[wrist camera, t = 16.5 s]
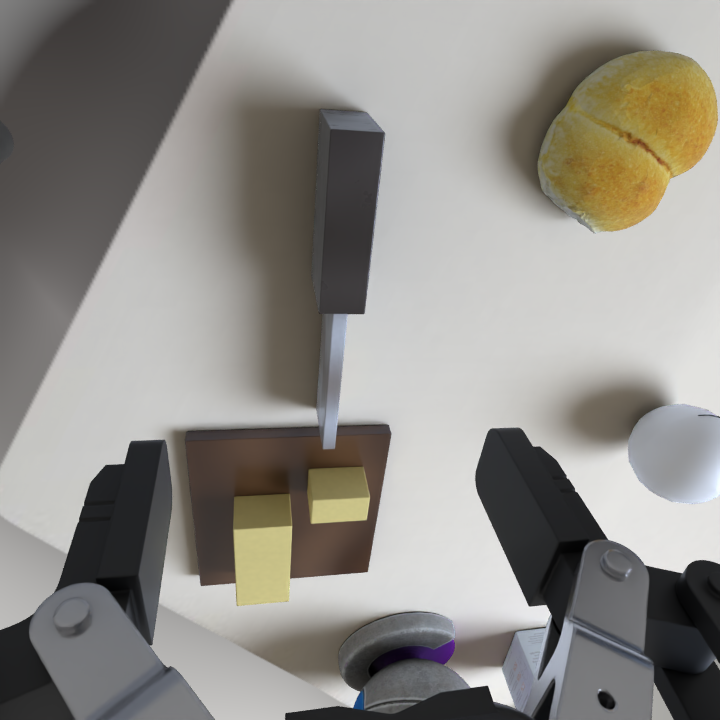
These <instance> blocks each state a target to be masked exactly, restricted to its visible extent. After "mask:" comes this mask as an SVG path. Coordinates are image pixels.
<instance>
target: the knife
mask: <svg viewBox="0 0 720 720" xmlns="http://www.w3.org/2000/svg"><path fill="white" fill-rule="evenodd" d="M384 140H385V132H384V131H383V130H382V129H381V128H380V127H379V125H378V124H377V123H376V122H375V121H374V120H373V119H372V117H371V116H370V115H369V114H368V113H367V112H354V111H341V110H327V109H320V117H319V136H318V156H317V176H316V196H315V216H314V235H313V255H312V275H311V276H312V281H313V286H314V291H315V296H316V301H317V306H318V310H319V314H323V317H322V332H321V347H320V362H319V378H318V393H317V408H316V410H317V416H318V423H319V430H320V436H321V443H322V449H335V442H336V431H337V421H338V410H339V400H340V389H341V379H342V368H343V358H344V347H345V336H346V326H347V315H348V314H364V313H365V306H366V297H367V288H368V279H369V271H370V262H371V253H372V245H373V236H374V227H375V218H376V210H377V201H378V192H379V183H380V175H381V166H382V157H383V148H384Z"/></svg>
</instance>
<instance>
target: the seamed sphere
mask: <svg viewBox="0 0 720 720" xmlns="http://www.w3.org/2000/svg"><path fill="white" fill-rule="evenodd" d="M628 456H629V462H630V464H631V466H632V468H633V470H634V472H635V474H636V476H637V478H638V480H639V481H640V482H641V483H642V484H643V485H644V486H645V487H646V488H648V489H649V490H650V491H651V492H653V493H655V494H656V495H658V496H660V497H662V498H665V499H667V500H669V501H672V502H678V503H689V504H696V503H703V502H706V501H709V500H712V499H714V498H716V497H718V496H720V417H719V416H716V415H715V414H713V413H712V412H710V411H709V410H707V409H703V408H699V407H695V406H691V405H687V404H676V405H668V406H663V407H659V408H656V409H654V410H652V411H650V412H649V413H647V414H646V415H645V416H643V417H642V418H641V419H640V420H639V421H638V422H637V424H636V425H635V427H634V429H633V431H632V433H631V436H630V438H629V440H628Z"/></svg>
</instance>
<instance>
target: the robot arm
mask: <svg viewBox="0 0 720 720" xmlns="http://www.w3.org/2000/svg"><path fill="white" fill-rule="evenodd" d="M475 481H476V488H477V492H478V495H479V497H480V499H481V502H482V504H483V506H484V508H485V510H486V513H487V515H488V517H489V519H490V521H491V524H492V526H493V528H494V530H495V532H496V535H497V537H498V539H499V541H500V543H501V546H502V548H503V550H504V552H505V554H506V557H507V559H508V561H509V563H510V565H511V568H512V570H513V572H514V574H515V577H516V579H517V581H518V583H519V585H520V588H521V590H522V592H523V594H524V596H525V599H526V601H527V603H528V605H529V607H530V606H539V605H547V607H548V609H549V611H550V613H551V615H550V617H549V619H548V622H547V625H546V630H545V634H544V638H543V642H542V646H541V650H540V654H539V659H538V663H537V667H536V671H535V675H534V679H533V683H532V687H531V691H530V694H529V697H528V700H527V702H526V705H525V707H524V710H523V712H521V711H519V710H517V709H515V708H512V707H510V706H507V705H503V704H500V703H496V702H493V699H492V697H491V694H490V691H489V688H488V686H483V687H475V688H468V689H461V690H453V691H446V692H440V693H438V694H436V695H434V696H432V697H430V698H427V699H425V700H423V701H421V702H419V703H417V704H415V705H413V706H410V707H408V708H406V709H404V710H402V711H400V712H397V713H393V714H387V713H381V712H374V711H367V710H360V709H354V708H347V707H340V706H336V707H328V708H321V709H314V710H306V711H299V712H292V713H286V714H285V720H652V703H653V685H654V683H655V685H656V687H657V689H658V690H659V692H660V694H661V696H662V698H663V700H664V702H665V704H666V706H667V708H668V709H669V711H670V713H671V715H672V717H673V719H674V720H720V670H719V668H718V667H717V665H716V663H715V662H714V660H715V659H717V660H718V662H719V663H720V564H717V563H714V562H711V561H706V560H698V561H694V562H692V563H690V564H689V565H688V566H687V568H686V569H685V571H684V572H683V574H682V573H678V572H673V571H668V570H663V569H659V568H654V567H649V566H646V565H644V563H643V562H642V561H641V559H640V558H639V557H638V556H637V555H636V554H635V553H634V552H632V551H631V550H630V549H628V548H627V547H625V546H623V545H621V544H619V543H616V542H614V541H610V540H608V539H607V537H606V536H605V534H604V533H603V531H602V530H601V528H600V527H599V525H598V523H597V522H596V520H595V519H594V517H593V516H592V514H591V513H590V511H589V510H588V508H587V507H586V505H585V504H584V502H583V500H582V499H581V497H580V496H579V494H578V493H577V492H575V488H574V487H573V485H572V484H571V482H570V480H569V479H567V478H566V474H565V473H564V471H563V470H562V468H561V467H560V465H559V464H558V462H557V460H555V459H554V458H553V457H552V456H551V455H549V454H548V453H547V452H546V451H545V450H544V449H542V448H541V447H533V446H532V444H531V443H530V441H529V440H528V438H527V436H526V435H525V433H524V432H523V430H522V429H520V428H495V429H490V430H489V431H488V433H487V436H486V439H485V443H484V446H483V449H482V453H481V456H480V459H479V463H478V466H477V469H476V476H475ZM171 510H172V484H171V476H170V468H169V460H168V452H167V444H166V441H165V440H147V441H131V443H130V445H129V448H128V452H127V456H126V460H125V464H118V465H105V467H104V468H103V469H102V470H101V471H100V472H99V473H98V475H97V476H96V477H95V478H94V479H93V480H92V481H91V483H90V486H89V489H88V492H87V495H86V498H85V502H84V506H83V508H82V511H81V514H80V517H79V523H78V524H77V527H76V530H75V533H74V536H73V540H72V543H71V546H70V549H69V552H68V556H67V559H66V562H65V565H64V568H63V572H62V575H61V578H60V581H59V584H58V586H57V589H56V590H55V592H54V594H52V595H51V596H50V597H48V598H47V599H46V600H45V601H44V602H43V603H42V604H41V605H40V606H39V607H38V609H37V610H36V612H35V613H34V614H33V615H31V616H30V617H28V618H27V619H25V620H23V621H21V622H19V623H17V624H15V625H12V626H10V627H8V628H5V629H2V630H0V720H215V719H214V718H213V716H212V715H211V714H210V712H209V711H208V710H207V708H206V707H205V706H204V704H203V703H202V702H201V700H200V699H199V698H198V696H197V695H196V694H195V692H194V691H193V690H192V688H191V687H190V686H189V684H188V683H187V682H186V680H185V679H184V678H183V677H182V675H181V674H180V673H179V672H178V671H177V670H176V669H175V668H173V667H171V666H170V667H169V668H168V667H166V666H165V665H164V664H163V663H162V662H161V661H160V659H159V658H158V657H157V655H156V654H155V653H154V651H153V650H152V648H151V647H150V646H149V645H152V643H153V636H154V629H155V622H156V614H157V608H158V602H159V595H160V588H161V581H162V574H163V567H164V560H165V553H166V546H167V539H168V532H169V525H170V518H171Z"/></svg>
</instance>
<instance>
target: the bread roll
mask: <svg viewBox="0 0 720 720" xmlns="http://www.w3.org/2000/svg"><path fill="white" fill-rule="evenodd" d="M717 121H718V112H717V100H716V95H715V91H714V88H713V85H712V83H711V80H710V79H709V77H708V76H707V74H706V72H705V71H704V70H703V69H702V68H701V67H700V66H699V64H698V63H697V62H695V61H694V60H693V59H692V58H689V57H687V56H684V55H681V54H678V53H673V52H664V51H639V52H634V53H630V54H627V55H623V56H620V57H617V58H615V59H613V60H611V61H609V62H607V63H605V64H604V65H602V66H600V67H599V68H598V69H596V70H595V71H594V72H592V73H591V74H590V75H589V76H588V77H587V78H585V79H584V80H583V81H582V82H581V83H580V84H579V86H578V87H577V88H576V89H575V90H574V92H573V93H572V95H571V97H570V99H569V101H568V103H567V105H566V106H565V108H564V109H563V110H562V111H561V112H560V113H559V114H558V115H557V116H556V118H555V119H554V121H553V122H552V124H551V126H550V127H549V129H548V131H547V134H546V136H545V138H544V141H543V143H542V146H541V150H540V155H539V159H538V175H539V179H540V183H541V188H542V191H543V192H544V193H545V194H546V195H547V196H548V197H549V198H550V199H551V200H552V201H553V202H554V203H555V204H556V205H557V206H558V207H559V208H561V209H563V211H565V212H566V214H567V215H569V216H570V217H572V218H574V219H577V220H578V222H579V223H580V224H582V225H584V226H586V227H587V228H588V229H589V230H590V231H592V232H593V233H595V234H596V233H598V232H602V231H618V230H622V229H626V228H628V227H631V226H633V225H635V224H637V223H639V222H641V221H642V220H644V219H645V218H646V217H648V216H649V215H651V214H652V212H653V211H654V210H655V209H656V208H657V206H658V204H659V202H660V200H661V199H662V197H663V195H664V193H665V190H666V187H667V185H668V183H669V181H670V179H671V178H673V177H675V176H678V175H680V174H682V173H684V172H686V171H688V170H689V169H691V168H692V167H693V166H694V165H695V164H696V163H697V162H698V161H700V160H701V158H702V157H703V155H704V154H705V153H706V151H707V149H708V147H709V145H710V143H711V141H712V139H713V136H714V134H715V131H716V126H717Z"/></svg>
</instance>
